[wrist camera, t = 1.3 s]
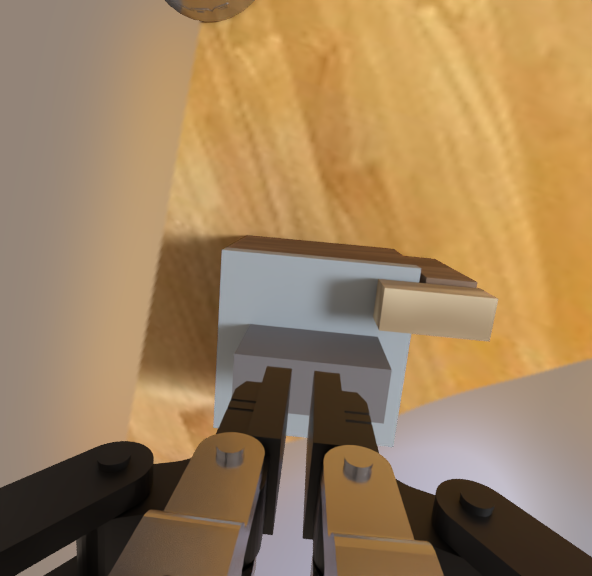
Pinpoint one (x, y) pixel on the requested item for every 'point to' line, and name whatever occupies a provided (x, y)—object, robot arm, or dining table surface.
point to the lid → (309, 331)
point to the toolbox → (359, 257)
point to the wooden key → (434, 310)
